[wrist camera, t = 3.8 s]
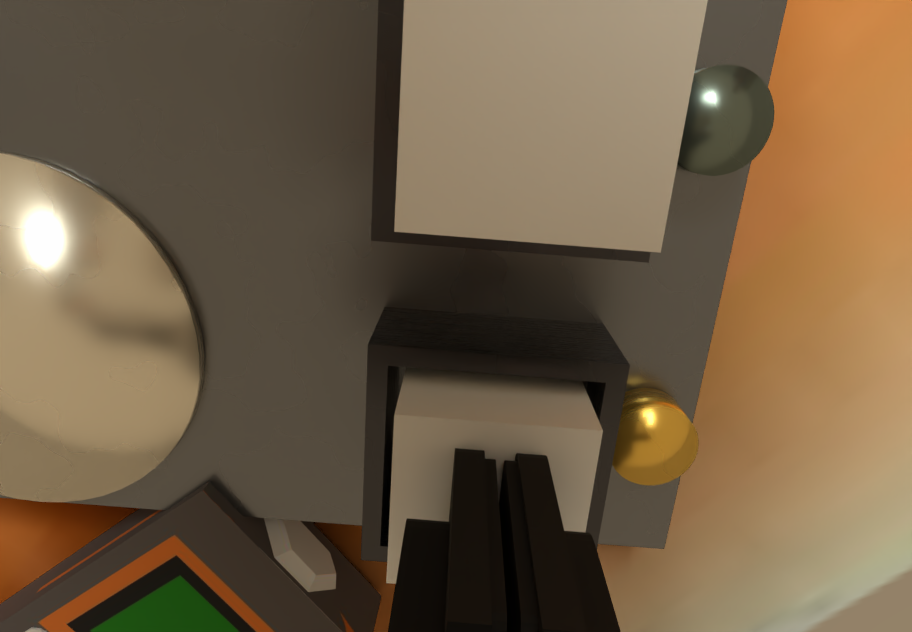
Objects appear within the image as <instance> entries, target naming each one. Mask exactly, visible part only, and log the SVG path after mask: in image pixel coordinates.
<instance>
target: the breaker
mask: <svg viewBox="0 0 912 632" xmlns="http://www.w3.org/2000/svg"><path fill="white" fill-rule="evenodd" d="M707 2H708V0H404V17H403V40H402V63H401V86H400V109H399V133H398V156H397V179H396V202H395V225H394V232H405V233H418V234H431V235H443V236H456V237H469V238H481V239H494V240H507V241H519V242H532V243H545V244H557V245H570V246H583V247H595V248H608V249H621V250H633V251H646V252H659V253H661V248H662V243H663V237H664V232H665V227H666V221H667V216H668V211H669V205H670V200H671V195H672V189H673V184H674V178H675V173H676V168H677V162H678V157H679V152H680V146H681V141H682V136H683V130H684V125H685V120H686V114H687V109H688V104H689V98H690V93H691V87H692V82H693V77H694V71H695V66H696V61H697V55H698V50H699V45H700V39H701V34H702V29H703V23H704V18H705V13H706V7H707Z"/></svg>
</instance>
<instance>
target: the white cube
mask: <svg viewBox="0 0 912 632" xmlns="http://www.w3.org/2000/svg"><path fill="white" fill-rule="evenodd" d="M602 434H603V430H602V427H601V425H600V423H599V420H598V418H597V415H596V413H595V411H594V408H593V406H592V404H591V401H590V399H589V397H588V394H587V392H586V389H585V387H584V385H583V382H582V381H578V380H565V379H552V378H539V377H527V376H514V375H501V374H488V373H476V372H463V371H450V370H437V369H424V368H412V367H406V370H405V374H404V378H403V382H402V386H401V390H400V394H399V398H398V402H397V406H396V410H395V414H394V431H393V452H392V473H391V494H390V515H389V536H388V557H387V577H386V583H391V584H396V579H397V573H398V567H399V561H400V555H401V548H402V542H403V536H404V530H405V524H406V520H407V518H409V519H422V520H434V521H447V522H449V512H450V500H451V489H452V477H453V465H454V454H455V448H459V449H472V450H484V451H485V459H495V460H496V469H497V482H498V496H499V499H500V490H501V482H502V473H503V465H504V461H505V460H510V461H515V456H516V453H523V454H535V455H546V456H547V458H548V461H549V466H550V470H551V475H552V479H553V483H554V488H555V492H556V497H557V501H558V505H559V510H560V514H561V519H562V523H563V527H564V531H574V532H586V526H587V521H588V515H589V509H590V503H591V497H592V492H593V486H594V480H595V474H596V468H597V463H598V457H599V451H600V445H601V439H602Z"/></svg>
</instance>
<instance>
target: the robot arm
mask: <svg viewBox="0 0 912 632" xmlns="http://www.w3.org/2000/svg"><path fill="white" fill-rule="evenodd" d="M388 632H620V628H619V625H618V622H617V618H616V615H615V611H614V608H613V604H612V601H611V598H610V594H609V591H608V587H607V584H606V580H605V577H604V574H603V570H602V567H601V563H600V560H599V557H598V553H597V550H596V546H595V543H594V540H593V538H592V535H591V534H590V533H587V532H574V531H564V527H563V523H562V519H561V514H560V510H559V505H558V501H557V497H556V492H555V488H554V483H553V479H552V475H551V470H550V466H549V461H548V458H547V456H546V455H535V454H523V453H516V456H515V461H510V460H505V461H504V465H503V473H502V482H501V490H500V499H499V496H498V482H497V469H496V460H495V459H485V451H484V450H472V449H459V448H455V454H454V465H453V477H452V489H451V500H450V512H449V522H447V521H434V520H422V519H409V518H407V520H406V524H405V530H404V536H403V542H402V548H401V555H400V561H399V567H398V573H397V579H396V586H395V592H394V598H393V604H392V610H391V616H390V623H389V629H388Z"/></svg>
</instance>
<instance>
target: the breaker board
mask: <svg viewBox="0 0 912 632" xmlns="http://www.w3.org/2000/svg"><path fill="white" fill-rule="evenodd" d="M786 4H787V0H708V2H707V7H706V13H705V18H704V23H703V29H702V34H701V39H700V45H699V50H698V55H697V61H696V66H695V71H694V77H693V82H692V87H691V93H690V98H689V104H688V109H687V114H686V120H685V125H684V130H683V136H682V141H681V146H680V152H679V157H678V162H677V168H676V173H675V178H674V184H673V189H672V195H671V200H670V205H669V211H668V216H667V221H666V227H665V232H664V237H663V243H662V248H661V253H659V252H646V251H633V250H621V249H608V248H595V247H583V246H570V245H557V244H545V243H532V242H519V241H507V240H494V239H481V238H469V237H456V236H443V235H431V234H418V233H405V232H394V225H395V202H396V179H397V156H398V133H399V109H400V86H401V63H402V40H403V17H404V0H0V498H12V499H22V500H30V501H37V502H64V503H77V504H90V505H103V506H116V507H129V508H142V509H154V510H168V509H169V508H171V507H172V506H174V505H175V504H177V503H178V502H180V501H181V500H183V499H184V498H186V497H187V496H188V495H190V494H191V493H193V492H194V491H196V490H197V489H199V488H200V487H202V486H203V485H205V484H206V483H208V482H210V483H211V484H212V485H213V486H214V487H215V488H216V489H217V490H218V491H219V492H220V493H221V494H222V495H223V496H224V497H225V498H226V499H227V500H228V501H229V502H230V503H231V504H232V505H233V506H234V507H235V509H236V510H237V511H238V512H239V513H240V514H241V515H242V516H245V517H258V518H271V519H284V520H296V521H309V522H322V523H335V524H348V525H361V526H362V545H361V560H368V561H381V562H387V557H388V536H389V515H390V494H391V473H392V452H393V431H394V414H395V410H396V406H397V402H398V398H399V394H400V390H401V386H402V382H403V378H404V374H405V370H406V367H412V368H424V369H437V370H450V371H463V372H476V373H488V374H501V375H514V376H527V377H539V378H552V379H565V380H578V381H582V382H583V385H584V387H585V389H586V392H587V394H588V397H589V399H590V401H591V404H592V406H593V408H594V411H595V413H596V415H597V418H598V420H599V423H600V425H601V427H602V430H603V434H602V439H601V445H600V451H599V457H598V463H597V468H596V474H595V480H594V486H593V492H592V497H591V503H590V509H589V515H588V521H587V526H586V532H587V533H590V534H591V535H592V538H593V540H594V543H595V546H596V550H597V545H598V544H606V545H619V546H632V547H645V548H658V549H664V547H665V543H666V538H667V534H668V530H669V525H670V521H671V516H672V512H673V507H674V503H675V498H676V494H677V489H678V485H679V481H680V476H681V475H682V474H683V473H684V472H685V471H686V470H687V469H688V468H689V467H690V466H691V464H692V463H693V461H694V459H695V457H696V454H697V451H698V435H697V432H696V429H695V427H694V426H693V424H692V423H693V418H694V414H695V409H696V405H697V400H698V396H699V391H700V387H701V382H702V378H703V374H704V369H705V365H706V360H707V356H708V351H709V347H710V342H711V338H712V333H713V329H714V325H715V320H716V316H717V311H718V307H719V302H720V298H721V293H722V289H723V284H724V280H725V276H726V271H727V267H728V262H729V258H730V253H731V249H732V244H733V240H734V235H735V231H736V226H737V222H738V218H739V213H740V209H741V204H742V200H743V195H744V191H745V186H746V182H747V177H748V173H749V169H750V164H751V161H752V160H753V159H754V158H755V157H756V156H757V155H758V154H759V153H760V151H761V150H762V149H763V147H764V146H765V144H766V142H767V140H768V138H769V136H770V133H771V130H772V127H773V121H774V104H773V99H772V96H771V93H770V91H769V89H768V84H769V79H770V75H771V71H772V66H773V62H774V57H775V53H776V48H777V44H778V39H779V35H780V30H781V26H782V22H783V17H784V13H785V8H786Z"/></svg>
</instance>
